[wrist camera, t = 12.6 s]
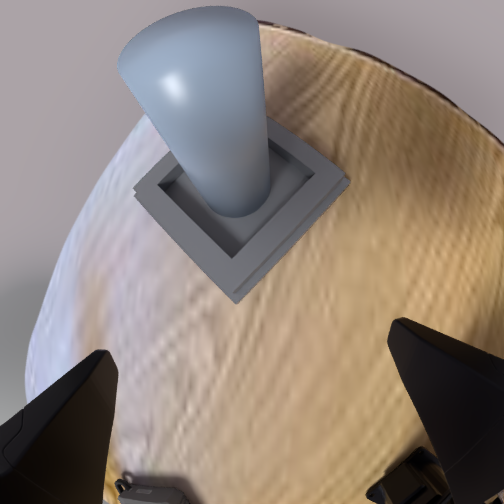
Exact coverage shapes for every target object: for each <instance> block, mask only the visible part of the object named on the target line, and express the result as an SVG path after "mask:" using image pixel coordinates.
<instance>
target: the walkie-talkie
mask: <svg viewBox="0 0 504 504" xmlns="http://www.w3.org/2000/svg"><path fill="white" fill-rule="evenodd" d="M121 485H123V486H124V488H125V490H124V489H123V488H122V486H121ZM115 487H116V489H117V490H118V492H119V493H120V495H119V496H118V500H119V501H120V503H121V504H190V503H189V502H188V500H187V499H186V496H185V495H184V493H183V492H181V491H180V490H178V489H176V488H165V487H150V486H139V485H131V484H129V483H128V482H127V481H125V480H122V479H118V480H117V481H115Z"/></svg>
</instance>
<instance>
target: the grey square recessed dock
mask: <svg viewBox="0 0 504 504" xmlns="http://www.w3.org/2000/svg"><path fill="white" fill-rule="evenodd" d="M266 120H267V134H268V150H269V166H270V192H269V196H268V198H267V200H266V201H265V203H264V204H263V205H262V206H261V207H260V208H259V209H258V210H257V211H255V212H254V213H252V214H250V215H247V216H244V217H240V218H228V217H224V216H221V215H219V214H217V213H215V212H214V211H213V210H211V209H210V207H209V206H208V205H207V203H206V202H205V201H204V199H203V198H202V196H201V195H200V193H199V192H198V190H197V189H196V187H195V186H194V184H193V183H192V181H191V180H190V179H189V177H188V176H187V174H186V173H185V171H184V170H183V168H182V167H181V165H180V164H179V162H178V161H177V159H176V158H175V156H174V155H173V153H172V152H171V150H170V151H169V152H168V153H167V154H166V155H165V156H164V157H163V158H162V159H161V160H160V161H159V162H158V163H157V164H156V165H155V166H154V167H153V168H152V169H151V170H150V171H149V172H148V173H147V174H146V175H145V176H144V177H143V178H142V179H141V180H140V181H139V182H138V183H137V184H136V185H135V186H134V187H133V189H134V190H135V191H136V192H137V193H136V194H135V195H134V197H135V198H136V199H137V200H138V201H139V202H140V203H141V205H142V206H143V207H144V208H145V209H146V210H147V211H148V213H149V214H150V215H151V216H152V217H153V218H154V219H155V220H156V221H157V223H158V224H159V225H160V226H161V227H162V228H163V229H164V230H165V231H166V232H167V233H168V235H169V236H170V237H171V238H172V239H173V240H174V241H175V242H176V243H177V244H178V245H179V246H180V248H181V249H182V250H183V251H184V252H185V253H186V254H187V255H188V256H189V257H190V258H191V259H192V260H193V261H194V262H195V263H196V264H197V265H198V266H199V268H200V269H201V270H202V271H203V272H204V273H205V274H206V275H207V276H208V277H209V278H210V279H211V280H212V281H213V282H214V283H215V284H216V285H217V286H218V287H219V288H220V289H221V290H222V291H223V292H224V293H225V294H226V295H227V296H228V297H229V298H230V299H231V300H232V301H233V302H234V303H235V304H238V303H239V302H240V301H241V300H242V299H243V298H244V297H245V296H246V295H247V294H248V293H249V292H250V291H251V290H252V289H253V288H254V287H255V286H256V285H257V284H258V283H259V282H260V280H261V279H262V278H263V277H264V276H265V275H266V274H267V273H268V272H269V271H270V270H271V269H272V268H273V267H274V266H275V265H276V264H277V263H278V262H279V261H280V260H281V258H282V257H283V256H284V255H285V254H286V253H287V252H288V251H289V250H290V249H291V248H292V247H293V246H294V245H295V244H296V243H297V241H298V240H299V239H300V238H301V237H302V236H303V235H304V234H305V233H306V232H307V231H308V230H309V229H310V227H311V226H312V225H313V224H314V223H315V222H316V221H317V220H318V219H319V218H320V217H321V215H322V214H323V213H324V212H325V211H326V210H327V209H328V208H329V207H330V206H331V205H332V203H333V202H334V201H335V200H336V199H337V198H338V197H339V196H340V195H341V193H342V192H343V191H344V190H345V189H346V188H347V187H348V186H349V184H350V181H349V180H348V179H347V178H346V177H344V176H345V172H343V171H342V170H341V169H340V168H339V167H337V166H336V165H335V164H333V163H332V162H331V161H330V160H328V159H327V158H326V157H324V156H323V155H322V154H321V153H319V152H318V151H317V150H315V149H314V148H313V147H311V146H310V145H308V144H307V143H306V142H304V141H303V140H302V139H300V138H299V137H297V136H296V135H294V134H293V133H292V132H290V131H289V130H287V129H286V128H284V127H283V126H281V125H280V124H278V123H277V122H275V121H274V120H272V119H271V118H269V117H268V116H266Z"/></svg>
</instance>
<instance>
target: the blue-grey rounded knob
mask: <svg viewBox="0 0 504 504" xmlns="http://www.w3.org/2000/svg"><path fill="white" fill-rule="evenodd" d="M117 69H118V72H119V74H120V75H121V77H122V78H123V80H124V81H125V83H126V84H127V86H128V87H129V89H130V90H131V92H132V93H133V95H134V96H135V98H136V99H137V101H138V103H139V104H140V105H141V107H142V109H143V110H144V111H145V113H146V115H147V116H148V118H149V119H150V121H151V122H152V124H153V125H154V127H155V128H156V130H157V131H158V133H159V134H160V136H161V137H162V139H163V140H164V141H165V143H166V144H167V146H168V147H169V149H170V150H171V152H172V153H173V155H174V156H175V158H176V159H177V161H178V162H179V164H180V165H181V167H182V168H183V170H184V171H185V173H186V174H187V176H188V177H189V179H190V180H191V181H192V183H193V184H194V186H195V187H196V189H197V190H198V192H199V193H200V195H201V196H202V198H203V199H204V201H205V202H206V203H207V205H208V206H209V207H210V209H211V210H213V211H214V212H215V213H217V214H219V215H221V216H224V217H228V218H240V217H244V216H247V215H250V214H252V213H254V212H255V211H257V210H258V209H259V208H260V207H261V206H262V205H263V204H264V203H265V201H266V200H267V198H268V196H269V192H270V166H269V150H268V134H267V120H266V106H265V92H264V80H263V68H262V56H261V45H260V34H259V25H258V22H257V20H256V18H255V17H254V16H252V15H251V14H250V13H248V12H246V11H244V10H241V9H238V8H233V7H226V6H206V7H198V8H192V9H188V10H184V11H181V12H177V13H175V14H172V15H169V16H167V17H165V18H162V19H160V20H159V21H157V22H155V23H153V24H151V25H149V26H148V27H146V28H145V29H143V30H142V31H141V32H139V33H138V34H137V35H136V36H135V37H134V38H132V39H131V40H130V41H129V42H128V44H127V45H126V46H125V47H124V49H123V50H122V52H121V54H120V56H119V58H118V62H117Z"/></svg>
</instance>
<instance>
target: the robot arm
mask: <svg viewBox="0 0 504 504" xmlns="http://www.w3.org/2000/svg"><path fill="white" fill-rule="evenodd" d="M387 343H388V347H389V349H390V352H391V354H392V357H393V359H394V362H395V364H396V367H397V369H398V372H399V375H400V377H401V379H402V382H403V384H404V386H405V388H406V390H407V392H408V394H409V396H410V398H411V400H412V402H413V404H414V406H415V408H416V410H417V412H418V415H419V417H420V419H421V421H422V423H423V425H424V427H425V430H426V432H427V434H428V436H429V439H430V441H431V443H432V446H433V448H434V450H435V453H436V455H437V457H438V458H437V457H435V456H434V455H433V454H432V453H430V452H429V451H428V450H427V449H425V448H424V447H419V448H418V449H416V450H415V451H414V452H413V453H412V454H411V455H410V456H409V457H408V458H407V459H406V460H405V461H404V462H403V463H402V464H401V465H399V466H398V467H397V468H396V469H395V470H394V471H393V472H391V473H390V474H389V475H388V476H387V477H385V478H384V479H383V480H382V481H381V482H379V483H378V484H377V485H375V486H374V487H373V488H372V489H370V490H369V491H368V492H367V493H366V494H365V495H366V498H367V499H369V500H371V501H373V502H375V503H377V504H504V359H501V358H499V357H496V356H494V355H492V354H488V353H487V352H485V351H482V350H480V349H478V348H475V347H473V346H471V345H468V344H466V343H464V342H461V341H459V340H457V339H454V338H452V337H450V336H447V335H445V334H443V333H440V332H438V331H436V330H433V329H431V328H429V327H426V326H424V325H422V324H419V323H417V322H415V321H412V320H410V319H408V318H405V317H401V318H398V319H395V320H393V322H392V324H391V328H390V331H389V335H388V339H387ZM117 383H118V369H117V366H116V364H115V362H114V360H113V358H112V356H111V354H110V352H109V351H108V350H101V349H98V350H95V351H94V352H92V353H91V354H90V355H89V356H87V357H86V358H85V359H84V360H82V361H81V362H80V363H78V364H77V365H76V366H75V367H73V368H72V369H71V370H70V371H68V372H67V373H66V374H65V375H63V376H62V377H61V378H60V379H58V380H57V381H56V382H55V383H53V384H52V385H51V386H50V387H48V388H47V389H46V390H45V391H43V392H42V393H41V394H40V395H39V396H37V397H36V398H35V399H34V400H32V401H31V402H30V403H29V404H27V405H26V406H25V407H24V409H21V410H20V411H19V412H18V413H17V414H15V415H14V416H13V417H12V418H10V419H9V420H8V421H6V422H5V423H4V424H2V425H1V426H0V504H102V503H103V490H104V480H105V472H106V464H107V456H108V450H109V443H110V437H111V431H112V426H113V420H114V414H115V404H116V393H117ZM420 452H421V453H420ZM370 494H371V495H370Z"/></svg>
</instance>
